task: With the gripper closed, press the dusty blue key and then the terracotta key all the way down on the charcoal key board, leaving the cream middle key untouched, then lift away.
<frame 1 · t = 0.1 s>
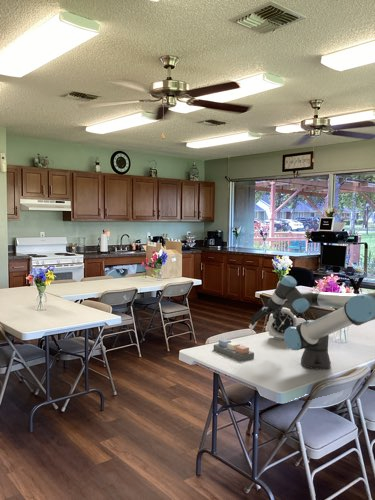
hand: (259, 326, 242), 15 cm above the table, tool tilted 35°, fingers open, 13 cm apart
key board: (233, 353, 242), on the table
alarm clock: (282, 339, 276), on the table
terracotta key: (242, 349, 235), point 4 cm above the table, slide at 0.0 cm
blue key: (224, 343, 248), point 4 cm above the table, slide at 0.0 cm
cream key: (233, 346, 242), point 4 cm above the table, slide at 0.0 cm
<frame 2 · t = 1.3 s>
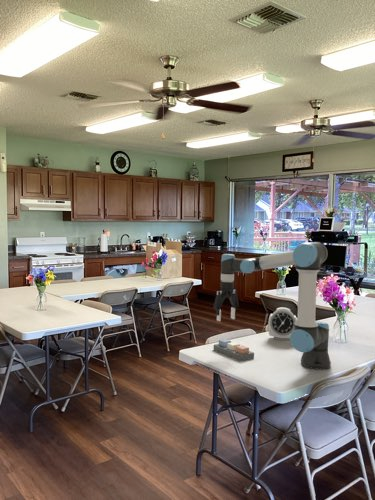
hand: (225, 319, 247), 18 cm above the table, tool pointing down, fingers open, 10 cm apart
nothing on the table moved.
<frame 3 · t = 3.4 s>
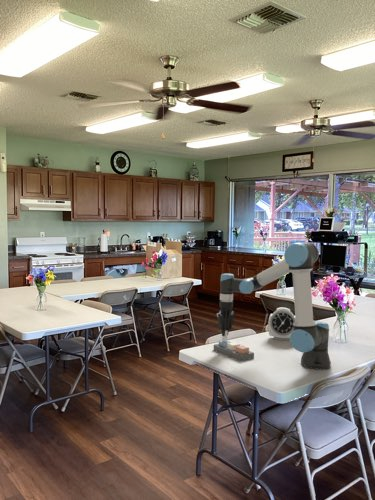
hand: (224, 341, 248), 5 cm above the table, tool pointing down, fingers closed
blue key: (224, 344, 248), point 4 cm above the table, slide at 0.8 cm, touching gripper
everything else where it was.
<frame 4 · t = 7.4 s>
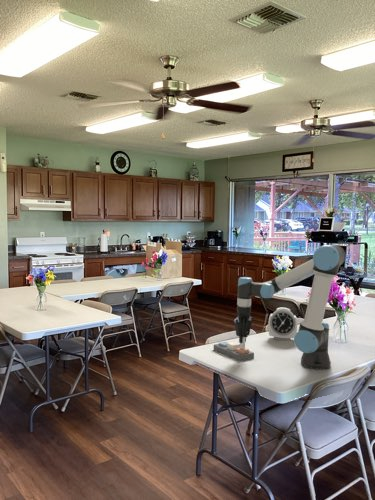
hand: (242, 348, 235), 5 cm above the table, tool pointing down, fingers closed
terracotta key: (242, 351, 235), point 3 cm above the table, slide at 1.0 cm, touching gripper
blue key: (224, 345, 248), point 3 cm above the table, slide at 1.6 cm
everything else where it was.
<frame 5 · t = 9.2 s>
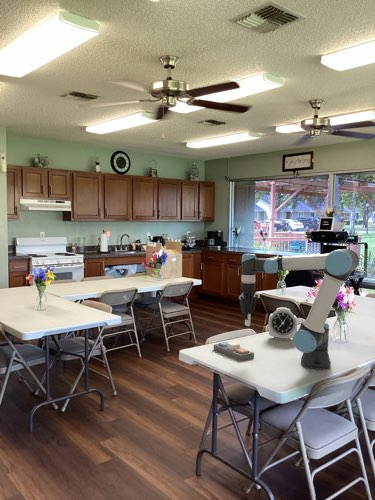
hand: (247, 325, 235), 18 cm above the table, tool pointing down, fingers closed
terracotta key: (242, 352, 236), point 3 cm above the table, slide at 1.6 cm
everything else where it was.
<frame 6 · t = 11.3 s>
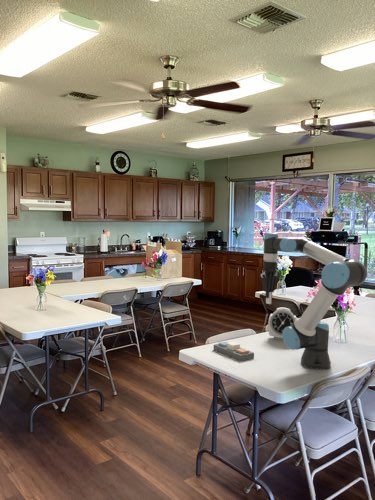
hand: (268, 303, 238), 29 cm above the table, tool pointing down, fingers closed
nothing on the table moved.
at the end: blue key slide at 1.6 cm; terracotta key slide at 1.6 cm; cream key slide at 0.0 cm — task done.
